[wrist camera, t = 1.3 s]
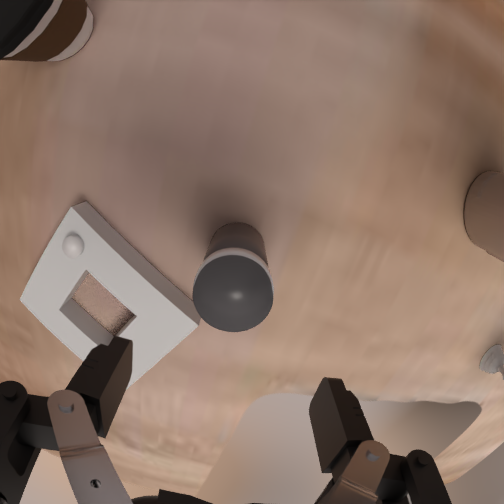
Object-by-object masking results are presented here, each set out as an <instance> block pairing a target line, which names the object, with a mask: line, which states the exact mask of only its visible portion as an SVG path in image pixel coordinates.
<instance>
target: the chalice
mask: <svg viewBox="0 0 504 504" xmlns="http://www.w3.org/2000/svg"><path fill="white" fill-rule="evenodd" d="M503 365H504V354H503V350H502V347H501V345H499V344H498V345H494V346H492V347H491V348H490V349H489V350H488V351H487V352H486V353H485V355H484V356H483V358H482V360H481V362H480V370H482V371H485V372H489V373H490V374H492V373H496V372H501V373H502V375H503V380H504V366H503Z"/></svg>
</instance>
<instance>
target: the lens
mask: <svg viewBox="0 0 504 504" xmlns="http://www.w3.org/2000/svg"><path fill="white" fill-rule="evenodd" d="M273 294H274V287H273V281H272V276H271V273H270V270H269V268H268V263H267V257H266V252H265V246H264V242H263V239H262V237H261V235H260V234H259V232H258V231H257V230H256V229H254V228H253V227H252V226H250V225H247V224H244V223H230V224H227V225H225V226H223V227H221V228H220V229H219V230H218V231H217V232H216V233H215V235H214V236H213V238H212V240H211V243H210V245H209V248H208V250H207V253H206V256H205V258H204V261H203V262H202V264H201V266H200V267H199V270H198V272H197V274H196V277H195V280H194V285H193V303H194V306H195V308H196V310H197V312H198V314H199V315H200V317H201V318H202V319H203V320H204V321H205V322H206V323H208V324H209V325H211V326H213V327H214V328H217V329H219V330H223V331H228V332H240V331H245V330H248V329H251V328H253V327H255V326H257V325H258V324H260V323H261V322H262V321H263V320H264V319H265V318H266V316H267V315H268V314H269V312H270V310H271V307H272V304H273Z"/></svg>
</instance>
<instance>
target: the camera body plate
mask: <svg viewBox="0 0 504 504" xmlns="http://www.w3.org/2000/svg"><path fill="white" fill-rule="evenodd" d="M88 273H90V274H91V275H92V276H93V277H94V278H95V279H96V280H97V281H99V282H100V283H101V284H102V285H103V286H104V287H105V288H106V289H107V290H108V291H109V292H110V293H111V294H112V295H114V296H115V297H116V298H117V299H118V300H119V301H120V302H121V303H122V304H123V305H125V306H126V307H127V308H128V309H129V310H130V311H131V312H133V313H134V316H133V317H132V318H131V319H130V320H129V321H128V322H127V323H126V324H125V325H124V326H123V328H122V329H121V330H120V331H119V332H118V333H117V334H116V335H115V336H119V337H122V338H126V339H129V340H132V341H133V361H132V374H131V378H130V381H129V384H128V386H127V388H129V387H130V386H131V385H132V384H133V383H134V382H136V381H137V380H138V379H139V378H140V377H141V376H142V375H144V374H145V373H146V372H147V371H148V370H149V369H150V368H152V367H153V366H154V365H155V364H156V363H157V362H158V361H159V360H161V359H162V358H163V357H164V356H165V355H166V354H167V353H169V352H170V351H171V350H172V349H173V348H174V347H175V346H176V345H178V344H179V343H180V342H181V341H182V340H183V339H184V338H185V337H187V336H188V335H189V334H190V333H191V332H192V331H193V330H194V329H195V328H197V327H198V326H199V323H200V319H201V317H200V315H199V314H198V312H197V310H196V308H195V306H194V303H193V301H192V300H191V299H189V298H188V297H187V296H186V295H185V294H184V293H183V292H181V291H180V290H179V289H178V288H177V287H176V286H175V285H173V284H172V283H171V282H170V281H169V280H168V279H167V278H166V277H165V276H163V275H162V274H161V273H160V272H159V271H158V270H157V269H156V268H155V267H154V266H152V265H151V264H150V263H149V262H148V261H147V260H146V259H145V258H144V257H143V256H142V255H141V254H140V253H139V252H137V251H136V250H135V249H134V248H133V247H132V246H131V245H130V244H129V243H128V242H127V241H126V240H125V239H124V238H123V237H122V236H121V235H120V234H119V233H118V232H117V231H116V230H115V229H114V228H113V227H112V226H111V225H110V224H109V223H108V222H107V221H106V220H105V219H104V218H103V217H102V216H101V215H100V214H99V213H98V212H97V211H96V210H95V209H94V208H93V207H92V206H91V205H90V204H89V203H88V202H87V201H85V202H83V203H80V204H77V205H74V206H72V207H71V208H70V209H69V211H68V213H67V214H66V216H65V217H64V219H63V220H62V222H61V224H60V225H59V227H58V229H57V230H56V232H55V234H54V235H53V237H52V239H51V240H50V242H49V244H48V246H47V247H46V249H45V251H44V253H43V255H42V256H41V258H40V260H39V262H38V264H37V266H36V268H35V270H34V272H33V274H32V275H31V277H30V279H29V281H28V283H27V286H26V288H25V290H24V292H23V294H22V296H21V298H20V301H21V302H22V303H23V304H24V305H25V306H26V307H27V308H28V309H29V310H30V311H31V312H32V313H33V314H34V316H35V317H36V318H37V319H38V320H39V321H40V322H41V323H42V324H43V325H44V326H45V327H46V328H47V329H48V330H49V331H50V332H52V333H53V334H54V335H55V336H56V337H57V338H58V339H59V340H60V341H61V342H62V343H63V344H64V345H65V346H67V347H68V348H69V349H70V350H71V351H72V352H73V353H74V354H76V355H77V356H78V357H79V358H80V359H81V360H82V361H84V360H85V359H86V357H87V355H88V354H89V352H90V351H91V349H93V348H95V347H96V346H98V345H100V344H104V345H107V346H108V345H109V344H110V342H111V340H112V339H113V337H114V336H113V335H112V334H111V333H110V332H108V331H107V330H106V329H105V328H104V327H103V326H102V325H100V324H99V323H98V322H97V321H96V320H95V319H94V318H93V317H92V316H90V315H89V314H88V313H87V312H86V311H85V310H84V309H83V308H82V307H81V306H80V305H79V304H78V303H77V302H76V301H75V300H73V299H72V296H73V295H74V293H75V292H76V291H77V289H78V288H79V286H80V285H81V283H82V282H83V280H84V279H85V278H86V276H87V275H88ZM127 388H126V389H127Z"/></svg>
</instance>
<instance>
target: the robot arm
mask: <svg viewBox="0 0 504 504" xmlns="http://www.w3.org/2000/svg"><path fill="white" fill-rule="evenodd" d="M464 219H465V227H466V230H467V233H468V235H469V237H470V239H471V240H472V242H473V243H474V244H476V245H477V246H479V247H480V248H482V249H484V250H486V251H487V252H488V254H490V255H492V256H494V257H496V258H497V259H499V260H501V261H503V262H504V173H500V172H495V171H487V172H484V173H482V174H480V175H479V176H478V177H477V178H476V179H475V181H474V182H473V184H472V185H471V187H470V190H469V192H468V195H467V198H466V203H465V209H464ZM132 361H133V341H132V340H129V339H126V338H122V337H119V336H114V337H113V339H112V340H111V342H110V344H109V345H108V346H107V345H104V344H100V345H98V346H96V347H95V348H93V349H91V351H90V352H89V354H88V355H87V357H86V359H85V360H84V361H83V363H82V366H80V367H79V369H78V370H77V372H76V373H75V375H74V376H73V378H72V380H71V381H70V383H69V384H68V386H67V387H66V389H65V390H59V391H56V392H54V393H53V394H51V396H50V397H43V396H37V395H31V394H27V391H26V389H25V387H24V386H23V385H22V384H20V383H18V382H16V381H5V382H2V383H0V504H19V503H20V500H21V497H22V495H23V492H24V489H25V487H26V484H27V482H28V479H29V477H30V474H31V472H32V469H33V467H34V465H35V462H36V460H37V457H38V455H39V453H40V451H41V449H42V448H43V449H49V450H56V451H60V456H61V460H62V462H63V465H64V468H65V471H66V474H67V477H68V479H69V482H70V485H71V487H72V490H73V492H74V495H75V497H76V499H77V502H78V504H212V503H209V502H206V501H204V500H201V499H198V498H196V497H193V496H190V495H185V494H180V493H175V492H170V491H166V490H161V489H159V495H158V496H143V497H138V498H134V499H130V497H129V495H128V494H127V492H126V490H125V488H124V486H123V484H122V482H121V480H120V479H119V477H118V475H117V473H116V471H115V469H114V467H113V464H112V462H111V460H110V458H109V456H108V454H107V452H106V450H105V448H104V446H103V445H101V443H100V441H99V438H98V436H100V437H103V438H106V435H107V433H108V431H109V428H110V426H111V423H112V421H113V419H114V416H115V414H116V411H117V409H118V407H119V404H120V402H121V400H122V397H123V395H124V393H125V391H126V388H127V386H128V384H129V381H130V378H131V374H132ZM309 415H310V420H311V424H312V429H313V433H314V438H315V443H316V447H317V452H318V456H319V461H320V466H321V471H322V473H332V476H333V478H332V479H331V480H330V481H329V483H328V484H327V486H326V487H325V489H324V490H323V492H322V493H321V495H320V496H319V497H318V499H317V500H316V502H315V503H314V504H409V500H408V497H407V494H409V496H410V499H411V503H412V504H452V503H451V501H450V498H449V496H448V493H447V490H446V488H445V486H444V483H443V481H442V478H441V476H440V473H439V471H438V469H437V466H436V464H435V462H434V459H433V458H432V456H431V455H430V454H428V453H427V452H425V451H423V450H413V451H411V452H410V453H409V454H408V455H407V456H406V457H404V456H399V455H393V454H389V451H388V449H387V448H386V447H385V446H384V445H383V444H382V443H380V442H377V441H374V439H373V436H372V434H371V431H370V429H369V426H368V423H367V421H366V418H365V417H364V414H363V411H362V409H361V406H360V404H359V401H358V399H357V398H356V396H355V395H354V394H353V393H352V392H351V391H347V390H346V388H345V386H344V383H343V381H342V379H338V378H327V377H324V378H323V379H322V381H321V383H320V385H319V387H318V389H317V391H316V393H315V395H314V397H313V399H312V401H311V403H310V408H309ZM251 504H261V503H251Z"/></svg>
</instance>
